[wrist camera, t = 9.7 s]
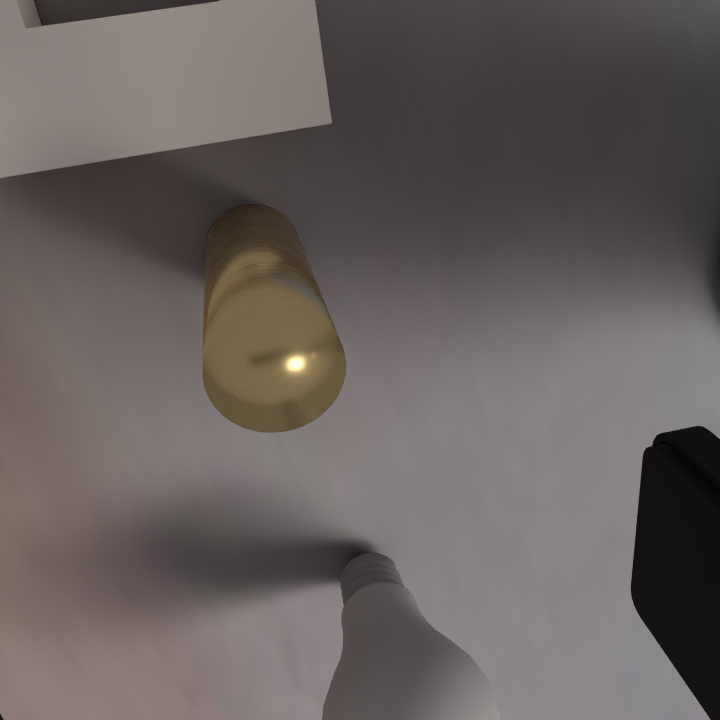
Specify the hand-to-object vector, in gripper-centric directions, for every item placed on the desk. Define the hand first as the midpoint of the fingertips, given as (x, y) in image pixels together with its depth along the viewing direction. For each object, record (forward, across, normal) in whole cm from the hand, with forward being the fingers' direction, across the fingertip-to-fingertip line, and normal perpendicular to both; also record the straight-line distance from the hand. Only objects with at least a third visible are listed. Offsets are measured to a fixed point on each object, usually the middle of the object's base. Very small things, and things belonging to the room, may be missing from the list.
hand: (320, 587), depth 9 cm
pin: (+16, 0, 0) cm, 16 cm away
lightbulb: (+16, -2, +15) cm, 22 cm away
